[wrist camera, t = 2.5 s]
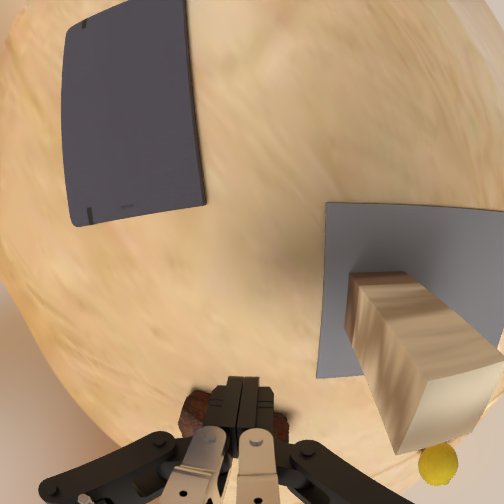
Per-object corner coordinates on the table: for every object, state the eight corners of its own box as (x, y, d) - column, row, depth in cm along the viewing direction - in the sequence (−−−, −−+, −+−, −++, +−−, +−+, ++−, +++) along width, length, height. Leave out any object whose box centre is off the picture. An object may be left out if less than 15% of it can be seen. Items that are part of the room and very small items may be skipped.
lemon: (404, 456, 29) (419, 497, 21) (427, 431, 27) (447, 473, 20) (430, 455, 29) (446, 492, 21) (452, 431, 27) (472, 468, 20)
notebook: (207, 204, 23) (186, -9, 18) (203, 206, 21) (181, -17, 17) (81, 226, 24) (74, 33, 19) (71, 228, 23) (66, 28, 18)
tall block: (348, 272, 23) (427, 381, 9) (403, 271, 22) (507, 359, 9) (343, 327, 24) (395, 455, 10) (395, 324, 23) (471, 432, 10)
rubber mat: (325, 202, 22) (326, 203, 21) (522, 214, 20) (524, 214, 20) (316, 376, 26) (316, 378, 25) (494, 348, 24) (496, 349, 24)
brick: (289, 412, 27) (290, 444, 23) (276, 433, 28) (275, 465, 24) (190, 385, 27) (178, 416, 23) (184, 409, 28) (173, 438, 24)
